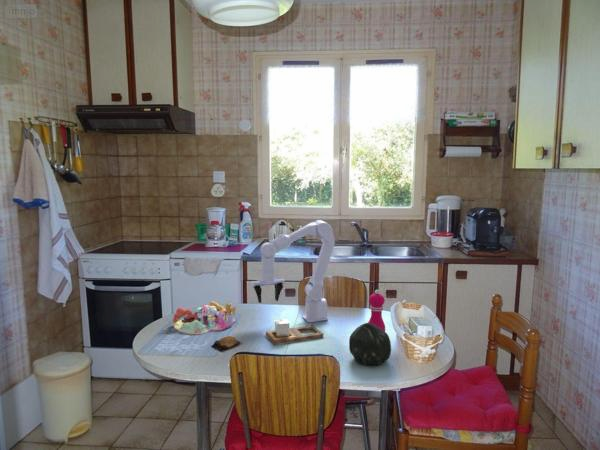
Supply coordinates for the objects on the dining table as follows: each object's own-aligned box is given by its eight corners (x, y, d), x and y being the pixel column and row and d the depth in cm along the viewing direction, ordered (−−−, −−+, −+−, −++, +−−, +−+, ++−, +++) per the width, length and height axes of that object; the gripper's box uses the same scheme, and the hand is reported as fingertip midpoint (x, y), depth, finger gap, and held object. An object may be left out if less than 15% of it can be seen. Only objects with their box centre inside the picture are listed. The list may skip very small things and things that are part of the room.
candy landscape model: (204, 312, 203) (203, 292, 202) (245, 320, 192) (245, 300, 191) (164, 329, 181) (163, 307, 180) (208, 339, 170) (207, 317, 169)
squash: (390, 336, 159) (364, 308, 156) (405, 354, 144) (377, 324, 141) (361, 361, 159) (335, 334, 156) (373, 383, 145) (345, 353, 141)
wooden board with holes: (313, 328, 181) (313, 324, 181) (323, 337, 172) (323, 333, 171) (266, 335, 174) (266, 331, 174) (274, 345, 164) (274, 340, 164)
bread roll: (230, 339, 171) (229, 330, 171) (244, 344, 166) (244, 335, 165) (208, 347, 163) (207, 338, 163) (222, 354, 158) (222, 344, 157)
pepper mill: (387, 337, 172) (388, 288, 169) (382, 344, 165) (383, 293, 163) (369, 334, 175) (370, 286, 172) (364, 340, 168) (365, 291, 166)
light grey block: (287, 335, 174) (287, 318, 173) (289, 340, 169) (289, 323, 168) (274, 336, 173) (274, 319, 172) (276, 341, 168) (276, 324, 167)
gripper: (280, 267, 192) (281, 296, 194) (249, 270, 187) (249, 300, 188) (286, 270, 186) (286, 301, 187) (253, 273, 180) (254, 305, 182)
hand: (268, 301), depth 187 cm, fingers open, 7 cm apart
